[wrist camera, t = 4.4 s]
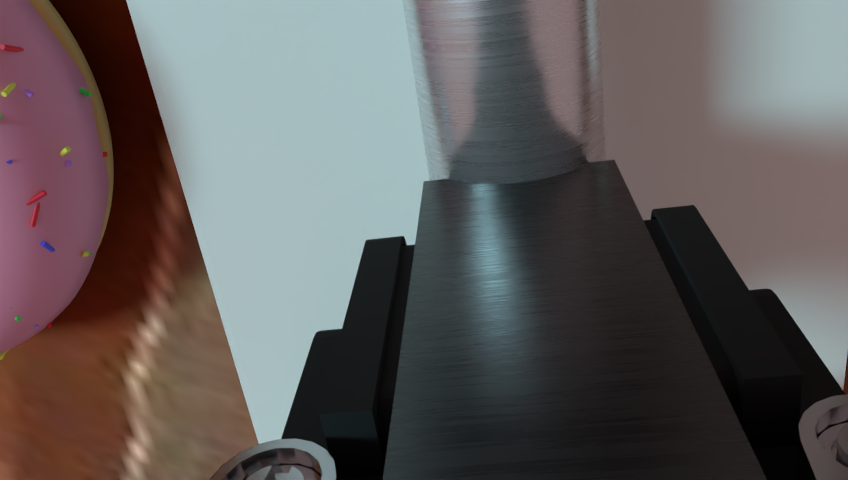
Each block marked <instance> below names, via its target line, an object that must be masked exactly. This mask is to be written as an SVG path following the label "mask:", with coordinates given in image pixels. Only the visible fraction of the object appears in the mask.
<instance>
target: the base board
mask: <svg viewBox="0 0 848 480" xmlns="http://www.w3.org/2000/svg"><path fill="white" fill-rule="evenodd" d="M126 2H127V5H128V8H129V12H130V15H131V18H132V22H133V25H134V28H135V32H136V35H137V38H138V42H139V45H140V48H141V52H142V55H143V58H144V62H145V65H146V68H147V72H148V75H149V78H150V82H151V85H152V88H153V92H154V95H155V98H156V102H157V105H158V108H159V112H160V115H161V118H162V122H163V125H164V129H165V132H166V135H167V139H168V142H169V145H170V149H171V152H172V155H173V159H174V162H175V165H176V169H177V172H178V175H179V179H180V182H181V185H182V189H183V192H184V195H185V199H186V202H187V205H188V209H189V212H190V215H191V219H192V222H193V225H194V229H195V232H196V235H197V239H198V242H199V245H200V249H201V252H202V255H203V259H204V262H205V265H206V269H207V272H208V275H209V279H210V282H211V285H212V289H213V292H214V296H215V299H216V302H217V306H218V309H219V312H220V316H221V319H222V322H223V326H224V329H225V332H226V336H227V339H228V342H229V346H230V349H231V352H232V356H233V359H234V362H235V366H236V369H237V372H238V376H239V379H240V382H241V386H242V389H243V392H244V396H245V399H246V402H247V406H248V409H249V412H250V416H251V419H252V422H253V426H254V429H255V432H256V436H257V439H258V442H259V444H261V443H265V442H269V441H273V440H277V439H281V437H282V434H283V431H284V428H285V425H286V422H287V419H288V416H289V412H290V409H291V406H292V403H293V400H294V397H295V394H296V391H297V387H298V384H299V381H300V378H301V375H302V372H303V369H304V366H305V362H306V359H307V356H308V353H309V350H310V347H311V344H312V341H313V338H314V336H315V334H316V332H318V331H322V330H333V329H342V327H343V323H344V320H345V316H346V312H347V308H348V305H349V301H350V297H351V293H352V289H353V286H354V282H355V278H356V274H357V271H358V267H359V263H360V259H361V256H362V252H363V248H364V244H365V241H366V240H369V239H379V238H388V237H398V236H404V238H405V240H406V244H407V245H415V241H416V234H417V226H418V219H419V212H420V205H421V197H422V190H423V183H424V181H429V174H428V167H427V161H426V154H425V147H424V141H423V134H422V127H421V121H420V114H419V107H418V101H417V94H416V87H415V81H414V74H413V67H412V61H411V54H410V47H409V41H408V34H407V27H406V21H405V14H404V7H403V1H402V0H126ZM599 8H600V31H601V53H602V76H603V99H604V122H605V145H606V161H607V160H615V162H616V164H617V166H618V168H619V170H620V173H621V175H622V177H623V179H624V181H625V183H626V185H627V187H628V189H629V191H630V194H631V196H632V198H633V200H634V202H635V204H636V206H637V208H638V210H639V212H640V215H641V217H642V219H643V220H651V212H652V210H653V209H660V208H669V207H678V206H688V205H694V206H695V207H696V208H697V210H698V211H699V213H700V214H701V216H702V217H703V219H704V221H705V222H706V224H707V225H708V227H709V228H710V230H711V231H712V233H713V235H714V236H715V238H716V239H717V241H718V242H719V244H720V246H721V247H722V249H723V250H724V252H725V253H726V255H727V256H728V258H729V260H730V261H731V263H732V264H733V266H734V267H735V269H736V271H737V272H738V274H739V275H740V277H741V278H742V280H743V281H744V283H745V285H746V286H747V288H748V289H749V290H756V289H771V290H772V291H773V292H774V293H775V294H776V295H777V296H778V298H779V299H780V301H781V302H782V303H783V305H784V306H785V308H786V309H787V311H788V312H789V314H790V315H791V316H792V318H793V319H794V321H795V322H796V324H797V325H798V327H799V328H800V329H801V331H802V332H803V334H804V335H805V337H806V338H807V339H808V341H809V342H810V344H811V345H812V347H813V348H814V350H815V351H816V352H817V354H818V355H819V357H820V358H821V360H822V361H823V362H824V364H825V365H826V367H827V368H828V370H829V371H830V373H831V374H832V375H833V377H834V378H835V380H836V381H837V383H838V384H839V385H840V387H841V388H842V390H843V388H844V379H845V370H846V361H847V352H848V0H599Z"/></svg>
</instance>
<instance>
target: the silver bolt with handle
mask: <svg viewBox="0 0 848 480" xmlns="http://www.w3.org/2000/svg"><path fill="white" fill-rule="evenodd" d="M402 1H403V7H404V14H405V21H406V27H407V34H408V41H409V47H410V54H411V61H412V67H413V74H414V81H415V87H416V94H417V101H418V107H419V114H420V121H421V127H422V134H423V141H424V147H425V154H426V161H427V167H428V174H429V181H424V183H423V190H422V197H421V205H420V212H419V219H418V226H417V234H416V241H415V248H414V256H413V263H412V270H411V277H410V285H409V292H408V299H407V306H406V314H405V321H404V328H403V336H402V343H401V350H400V357H399V365H398V372H397V379H396V386H395V394H394V401H393V408H392V416H391V423H390V430H389V437H388V445H387V452H386V459H385V467H384V474H383V480H767V479H766V477H765V475H764V473H763V471H762V468H761V466H760V464H759V462H758V460H757V458H756V456H755V454H754V452H753V450H752V447H751V445H750V443H749V441H748V439H747V437H746V435H745V433H744V431H743V429H742V426H741V424H740V422H739V420H738V418H737V416H736V414H735V412H734V410H733V408H732V405H731V403H730V401H729V399H728V397H727V395H726V393H725V391H724V389H723V387H722V385H721V382H720V380H719V378H718V376H717V374H716V372H715V370H714V368H713V366H712V364H711V361H710V359H709V357H708V355H707V353H706V351H705V349H704V347H703V345H702V343H701V340H700V338H699V336H698V334H697V332H696V330H695V328H694V326H693V324H692V322H691V319H690V317H689V315H688V313H687V311H686V309H685V307H684V305H683V303H682V301H681V298H680V296H679V294H678V292H677V290H676V288H675V286H674V284H673V282H672V280H671V277H670V275H669V273H668V271H667V269H666V267H665V265H664V263H663V261H662V259H661V257H660V254H659V252H658V250H657V248H656V246H655V244H654V242H653V240H652V238H651V236H650V233H649V231H648V229H647V227H646V225H645V223H644V221H643V219H642V217H641V215H640V212H639V210H638V208H637V206H636V204H635V202H634V200H633V198H632V196H631V194H630V191H629V189H628V187H627V185H626V183H625V181H624V179H623V177H622V175H621V173H620V170H619V168H618V166H617V164H616V162H615V160H607V161H606V145H605V122H604V99H603V76H602V53H601V31H600V8H599V0H402Z"/></svg>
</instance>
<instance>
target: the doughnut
mask: <svg viewBox="0 0 848 480" xmlns="http://www.w3.org/2000/svg"><path fill="white" fill-rule="evenodd" d="M113 182H114V163H113V149H112V141H111V134H110V129H109V124H108V119H107V115H106V111H105V108H104V104H103V101H102V98H101V95H100V92H99V89H98V86H97V84H96V81H95V79H94V76H93V74H92V71H91V69H90V67H89V65H88V63H87V61H86V59H85V57H84V55H83V53H82V51H81V49H80V47H79V45H78V43H77V42H76V40H75V38H74V36H73V35H72V33H71V31H70V30H69V28H68V27H67V25H66V24H65V22H64V21H63V19H62V18H61V16H60V15H59V13H58V12H57V10H56V9H55V8H54V6H53V5H52V4H51V2H50V1H49V0H0V360H2V359H3V358H4V356H5V354H6V353H7V351H8V350H9V349H11V348H13V347H15V346H17V345H19V344H21V343H23V342H25V341H26V340H28V339H30V338H31V337H33V336H34V335H36V334H37V333H38V332H40V331H41V330H42V329H44V328H45V327H46V326H47V327H48V328H49V329H50V328H51V327H53V325H52V324H51V322H52V321H53V320H54V319H55V318H56V317H57V316H58V315H59V314H60V313H61V312H62V311H63V310H64V309H65V308H66V307H67V306H68V305H69V304H70V303H71V301H72V300H73V299H74V297H75V296H76V294H77V293H78V291H79V290H80V288H81V286H82V285H83V283H84V281H85V279H86V277H87V275H88V273H89V271H90V268H91V266H92V264H93V261H94V259H95V255H96V252H97V250H98V248H99V246H100V243H101V241H102V238H103V235H104V232H105V229H106V226H107V222H108V218H109V213H110V208H111V203H112V195H113Z"/></svg>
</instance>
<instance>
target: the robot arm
mask: <svg viewBox="0 0 848 480" xmlns="http://www.w3.org/2000/svg"><path fill="white" fill-rule="evenodd" d="M643 221H644V223H645V225H646V227H647V229H648V231H649V233H650V236H651V238H652V240H653V242H654V244H655V246H656V248H657V250H658V252H659V254H660V257H661V259H662V261H663V263H664V265H665V267H666V269H667V271H668V273H669V275H670V277H671V280H672V282H673V284H674V286H675V288H676V290H677V292H678V294H679V296H680V298H681V301H682V303H683V305H684V307H685V309H686V311H687V313H688V315H689V317H690V319H691V322H692V324H693V326H694V328H695V330H696V332H697V334H698V336H699V338H700V340H701V343H702V345H703V347H704V349H705V351H706V353H707V355H708V357H709V359H710V361H711V364H712V366H713V368H714V370H715V372H716V374H717V376H718V378H719V380H720V382H721V385H722V387H723V389H724V391H725V393H726V395H727V397H728V399H729V401H730V403H731V405H732V408H733V410H734V412H735V414H736V416H737V418H738V420H739V422H740V424H741V426H742V429H743V431H744V433H745V435H746V437H747V439H748V441H749V443H750V445H751V447H752V450H753V452H754V454H755V456H756V458H757V460H758V462H759V464H760V466H761V468H762V471H763V473H764V475H765V477H766V479H767V480H848V394H845V393H844V391H843V390H842V388H841V387H840V385H839V384H838V383H837V381H836V380H835V378H834V377H833V375H832V374H831V373H830V371H829V370H828V368H827V367H826V365H825V364H824V362H823V361H822V360H821V358H820V357H819V355H818V354H817V352H816V351H815V350H814V348H813V347H812V345H811V344H810V342H809V341H808V339H807V338H806V337H805V335H804V334H803V332H802V331H801V329H800V328H799V327H798V325H797V324H796V322H795V321H794V319H793V318H792V316H791V315H790V314H789V312H788V311H787V309H786V308H785V306H784V305H783V303H782V302H781V301H780V299H779V298H778V296H777V295H776V294H775V293H774V292H773V291H772V290H771V289H756V290H749V289H748V288H747V286H746V285H745V283H744V281H743V280H742V278H741V277H740V275H739V274H738V272H737V271H736V269H735V267H734V266H733V264H732V263H731V261H730V260H729V258H728V256H727V255H726V253H725V252H724V250H723V249H722V247H721V246H720V244H719V242H718V241H717V239H716V238H715V236H714V235H713V233H712V231H711V230H710V228H709V227H708V225H707V224H706V222H705V221H704V219H703V217H702V216H701V214H700V213H699V211H698V210H697V208H696V207H695V206H694V205H688V206H678V207H669V208H660V209H653V210H652V212H651V220H643ZM414 248H415V245H407V244H406V240H405V238H404V236H398V237H388V238H379V239H369V240H366V241H365V244H364V248H363V252H362V256H361V259H360V263H359V267H358V271H357V274H356V278H355V282H354V286H353V289H352V293H351V297H350V301H349V305H348V308H347V312H346V316H345V320H344V323H343V327H342V329H333V330H322V331H318V332H316V334H315V336H314V338H313V341H312V344H311V347H310V350H309V353H308V356H307V359H306V362H305V366H304V369H303V372H302V375H301V378H300V381H299V384H298V387H297V391H296V394H295V397H294V400H293V403H292V406H291V409H290V412H289V416H288V419H287V422H286V425H285V428H284V431H283V434H282V437H281V439H277V440H273V441H269V442H265V443H261V444H257V445H255V446H253V447H251V448H249V449H246V450H244V451H242V452H240V453H238V454H237V455H235V456H234V457H233V458H231V459H230V460H228V461H227V462H226V463H224V464H223V465H222V466H221V467H220V468H219V469H218V470H217V471H216V473H215V474H214V475H213V476H212V477H211V478H210V480H383V474H384V467H385V459H386V452H387V445H388V437H389V430H390V423H391V416H392V408H393V401H394V394H395V386H396V379H397V372H398V365H399V357H400V350H401V343H402V336H403V328H404V321H405V314H406V306H407V299H408V292H409V285H410V277H411V270H412V263H413V256H414Z"/></svg>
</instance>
